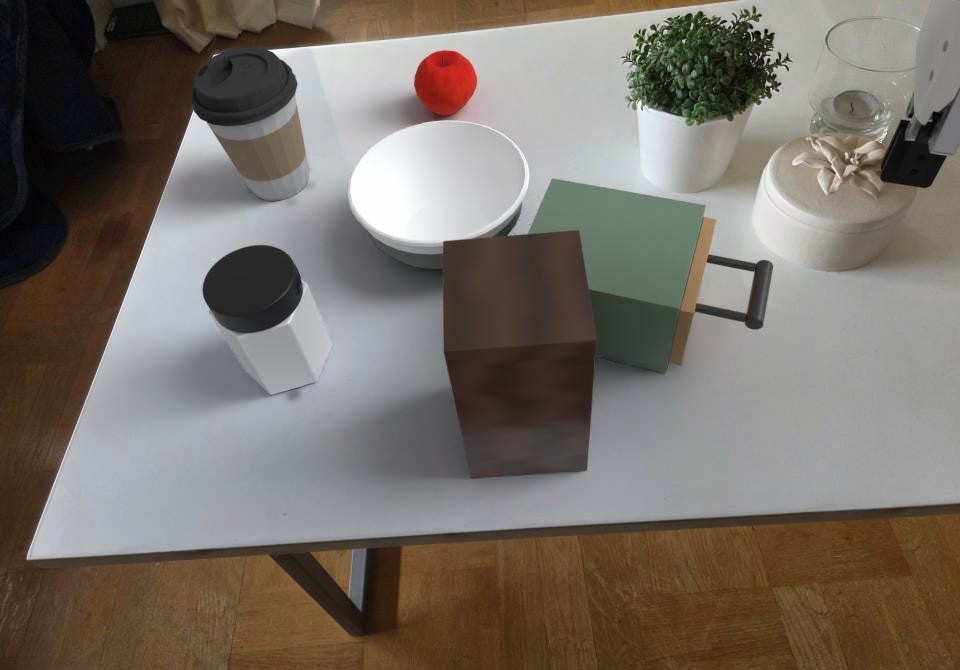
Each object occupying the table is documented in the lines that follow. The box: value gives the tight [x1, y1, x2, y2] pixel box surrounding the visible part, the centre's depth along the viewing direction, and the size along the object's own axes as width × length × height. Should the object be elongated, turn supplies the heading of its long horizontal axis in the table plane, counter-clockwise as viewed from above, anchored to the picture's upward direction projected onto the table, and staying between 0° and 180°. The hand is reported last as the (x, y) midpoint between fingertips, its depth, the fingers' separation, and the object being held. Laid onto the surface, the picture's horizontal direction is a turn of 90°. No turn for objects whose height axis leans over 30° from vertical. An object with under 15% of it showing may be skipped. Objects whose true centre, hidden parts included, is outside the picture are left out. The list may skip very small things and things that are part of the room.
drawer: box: [668, 216, 774, 366], centre depth 68 cm, size 19×11×8 cm, turn 70°
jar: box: [201, 244, 334, 396], centre depth 67 cm, size 9×8×12 cm
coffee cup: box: [190, 46, 310, 202], centre depth 82 cm, size 11×11×15 cm
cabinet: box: [527, 177, 707, 374], centre depth 69 cm, size 15×13×10 cm
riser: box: [442, 230, 597, 479], centre depth 58 cm, size 10×10×19 cm
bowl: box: [346, 119, 530, 270], centre depth 77 cm, size 19×19×8 cm
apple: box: [413, 49, 478, 117], centre depth 91 cm, size 8×8×7 cm
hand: (904, 177), depth 51 cm, fingers closed
